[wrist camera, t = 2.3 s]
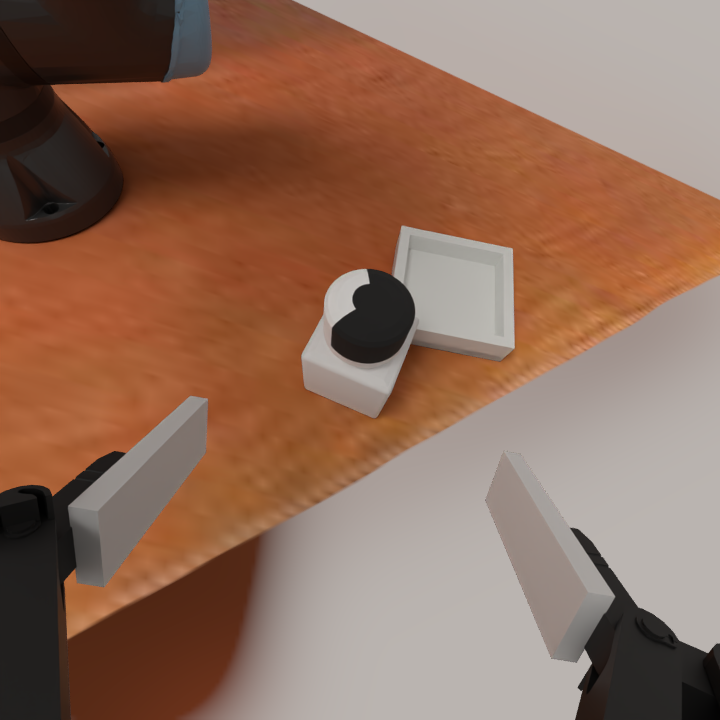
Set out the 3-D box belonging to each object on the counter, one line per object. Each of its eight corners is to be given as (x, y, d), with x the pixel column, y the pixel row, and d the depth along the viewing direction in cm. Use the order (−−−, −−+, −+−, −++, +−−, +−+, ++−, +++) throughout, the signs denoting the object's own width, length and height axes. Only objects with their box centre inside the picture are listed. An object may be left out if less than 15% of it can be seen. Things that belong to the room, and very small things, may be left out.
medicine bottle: (402, 354, 35) (440, 279, 24) (375, 420, 32) (405, 368, 21) (335, 326, 36) (342, 240, 25) (303, 389, 33) (295, 322, 22)
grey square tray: (381, 338, 36) (386, 323, 33) (396, 245, 41) (401, 225, 38) (499, 361, 36) (514, 348, 33) (499, 266, 41) (512, 248, 38)
